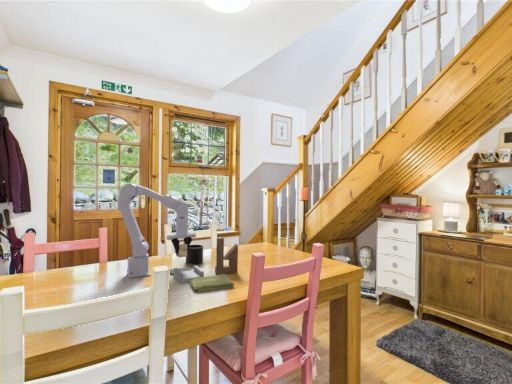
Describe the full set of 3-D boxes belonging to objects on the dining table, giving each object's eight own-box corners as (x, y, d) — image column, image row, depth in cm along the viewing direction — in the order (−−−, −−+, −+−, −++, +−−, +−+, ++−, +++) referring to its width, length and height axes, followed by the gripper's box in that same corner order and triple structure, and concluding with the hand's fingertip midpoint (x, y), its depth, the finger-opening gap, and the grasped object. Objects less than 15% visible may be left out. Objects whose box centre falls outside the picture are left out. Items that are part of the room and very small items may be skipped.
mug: (190, 266, 152) (190, 249, 152) (183, 261, 163) (183, 245, 163) (206, 264, 157) (207, 248, 157) (199, 259, 168) (199, 244, 167)
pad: (171, 275, 137) (171, 273, 137) (168, 271, 143) (168, 269, 143) (191, 272, 142) (191, 270, 142) (187, 268, 148) (187, 267, 148)
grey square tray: (180, 283, 126) (180, 274, 126) (173, 276, 135) (174, 268, 135) (203, 280, 131) (204, 271, 131) (196, 273, 141) (196, 265, 141)
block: (176, 255, 141) (176, 243, 141) (183, 254, 144) (183, 242, 144) (179, 257, 138) (179, 245, 138) (187, 256, 141) (187, 244, 140)
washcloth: (188, 283, 127) (188, 276, 127) (226, 279, 134) (226, 272, 134) (194, 294, 115) (194, 286, 115) (235, 288, 122) (235, 281, 122)
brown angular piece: (237, 273, 143) (238, 237, 143) (217, 275, 138) (217, 238, 138) (235, 271, 146) (235, 236, 146) (214, 273, 142) (215, 237, 141)
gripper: (170, 227, 133) (170, 256, 133) (199, 225, 142) (198, 252, 142) (165, 225, 139) (164, 253, 139) (192, 224, 148) (192, 250, 148)
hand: (181, 253), depth 141 cm, fingers closed on block, 4 cm apart
